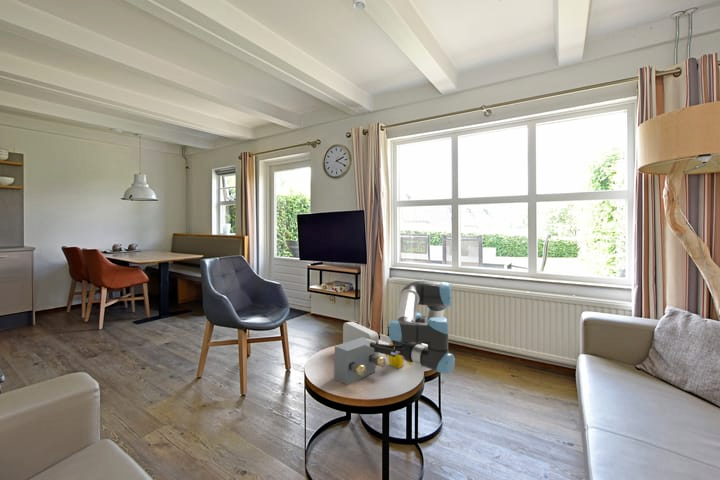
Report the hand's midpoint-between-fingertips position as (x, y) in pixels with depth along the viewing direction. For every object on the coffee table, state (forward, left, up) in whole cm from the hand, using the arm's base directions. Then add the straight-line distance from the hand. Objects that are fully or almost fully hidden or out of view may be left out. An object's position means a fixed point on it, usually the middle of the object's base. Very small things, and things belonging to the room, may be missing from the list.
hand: (373, 339), depth 144 cm
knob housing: (-7, -17, -24) cm, 31 cm away
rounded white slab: (-24, -31, -24) cm, 46 cm away
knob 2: (-14, -11, -18) cm, 25 cm away
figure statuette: (-31, -10, -24) cm, 41 cm away
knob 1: (0, -11, -18) cm, 21 cm away
